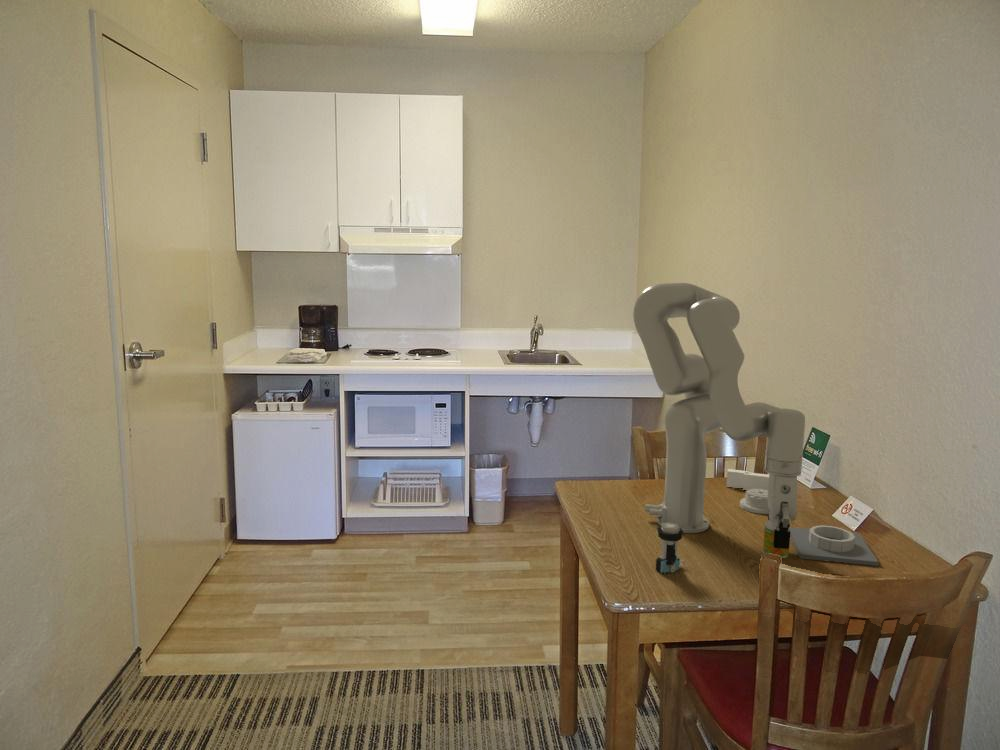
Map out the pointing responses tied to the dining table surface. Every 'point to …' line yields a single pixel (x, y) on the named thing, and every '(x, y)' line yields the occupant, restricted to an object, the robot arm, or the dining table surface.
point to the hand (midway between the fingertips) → (777, 539)
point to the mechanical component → (755, 501)
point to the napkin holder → (747, 480)
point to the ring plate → (832, 545)
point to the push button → (669, 547)
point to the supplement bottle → (772, 538)
